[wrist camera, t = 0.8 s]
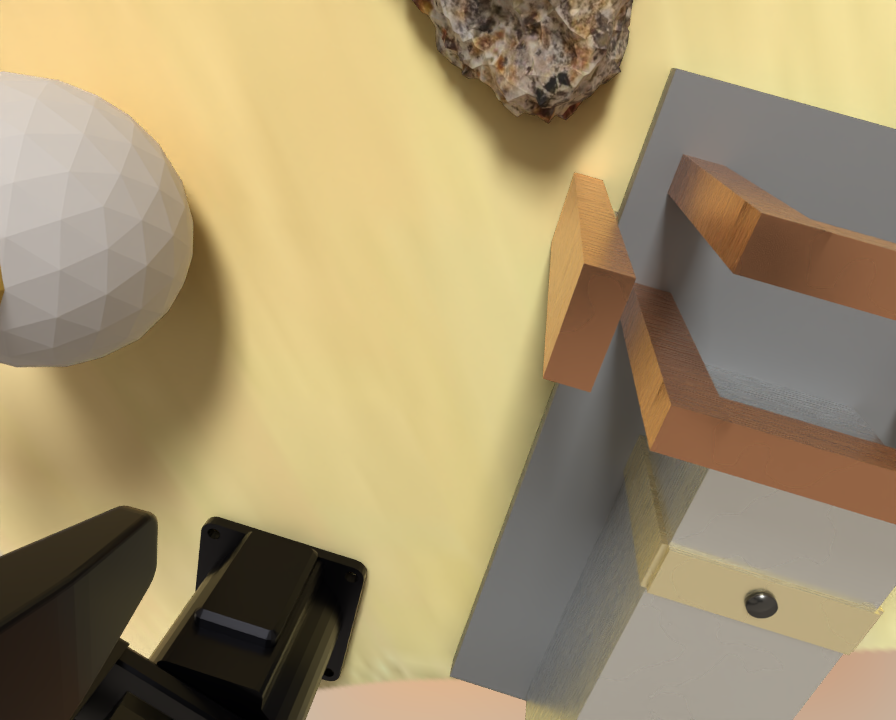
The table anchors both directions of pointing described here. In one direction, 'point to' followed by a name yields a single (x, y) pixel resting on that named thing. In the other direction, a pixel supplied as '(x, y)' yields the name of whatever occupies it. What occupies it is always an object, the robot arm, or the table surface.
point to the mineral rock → (534, 48)
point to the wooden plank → (584, 285)
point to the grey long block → (716, 588)
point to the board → (713, 331)
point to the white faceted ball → (82, 226)
